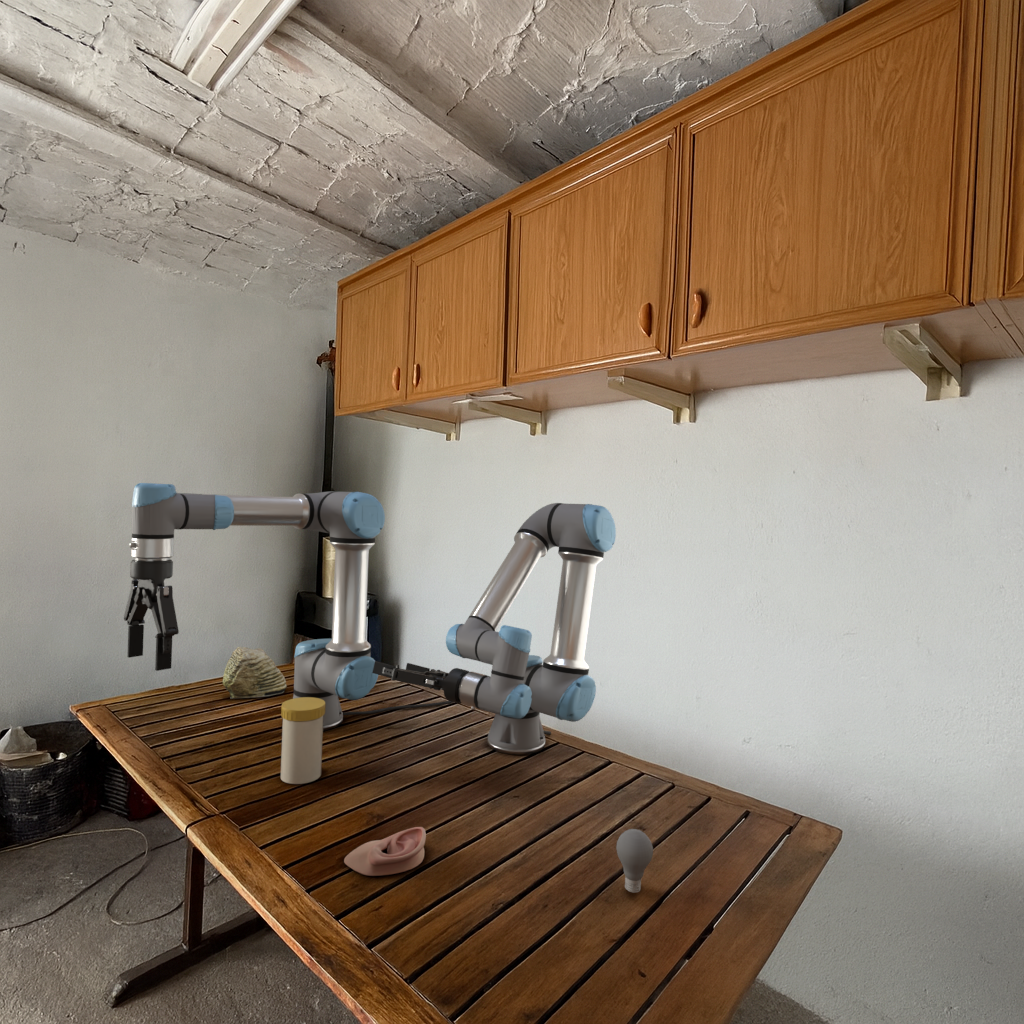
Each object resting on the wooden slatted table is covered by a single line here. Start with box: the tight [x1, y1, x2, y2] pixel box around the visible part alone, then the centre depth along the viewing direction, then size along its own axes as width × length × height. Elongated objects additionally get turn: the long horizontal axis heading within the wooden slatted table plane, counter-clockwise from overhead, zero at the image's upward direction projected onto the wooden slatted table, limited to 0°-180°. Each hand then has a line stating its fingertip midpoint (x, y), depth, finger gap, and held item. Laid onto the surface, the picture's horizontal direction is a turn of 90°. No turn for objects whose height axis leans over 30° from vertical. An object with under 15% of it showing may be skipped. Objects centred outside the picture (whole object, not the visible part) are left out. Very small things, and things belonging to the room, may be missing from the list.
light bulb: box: [615, 828, 654, 894], centre depth 106 cm, size 6×6×10 cm
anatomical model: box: [343, 826, 427, 877], centre depth 112 cm, size 13×4×12 cm
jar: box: [279, 716, 324, 785], centre depth 143 cm, size 9×9×16 cm
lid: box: [280, 697, 325, 721], centre depth 143 cm, size 9×9×2 cm
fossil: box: [222, 646, 288, 699], centre depth 198 cm, size 9×18×15 cm, turn 132°
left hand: (148, 662), depth 129 cm, fingers open, 13 cm apart
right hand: (391, 667), depth 155 cm, fingers open, 13 cm apart
